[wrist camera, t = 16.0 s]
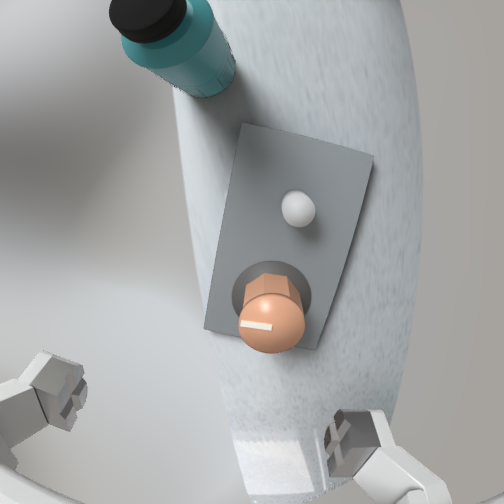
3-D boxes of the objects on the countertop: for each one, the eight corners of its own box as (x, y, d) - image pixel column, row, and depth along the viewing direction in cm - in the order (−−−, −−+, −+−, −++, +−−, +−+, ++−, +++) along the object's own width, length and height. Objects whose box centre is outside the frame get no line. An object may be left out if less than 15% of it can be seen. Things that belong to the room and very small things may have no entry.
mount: (243, 124, 32) (238, 119, 26) (368, 155, 32) (387, 157, 27) (206, 320, 40) (197, 347, 34) (312, 341, 40) (318, 369, 34)
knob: (304, 277, 35) (311, 303, 29) (293, 326, 37) (297, 357, 31) (246, 268, 35) (242, 293, 29) (239, 319, 37) (234, 349, 31)
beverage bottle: (250, 74, 30) (231, -9, 11) (203, 113, 32) (127, 77, 13) (211, 36, 29) (156, -62, 10) (166, 74, 30) (67, 15, 12)
